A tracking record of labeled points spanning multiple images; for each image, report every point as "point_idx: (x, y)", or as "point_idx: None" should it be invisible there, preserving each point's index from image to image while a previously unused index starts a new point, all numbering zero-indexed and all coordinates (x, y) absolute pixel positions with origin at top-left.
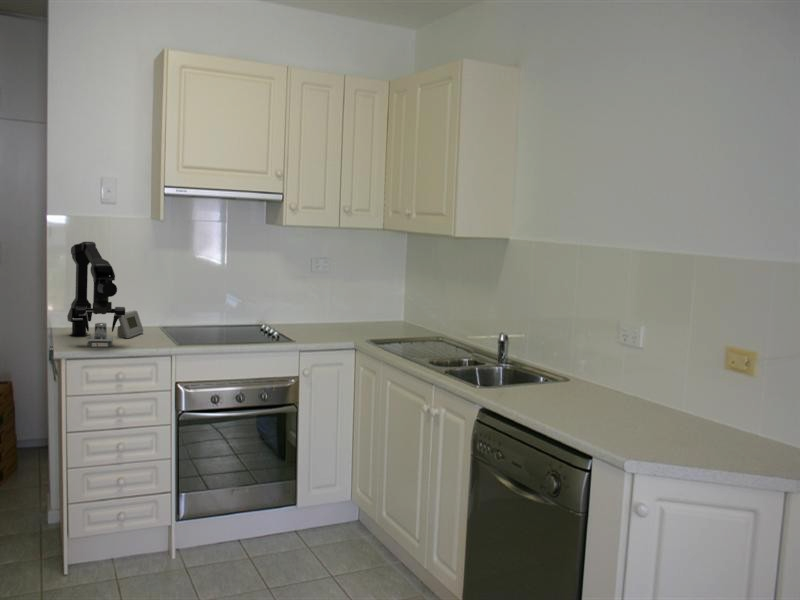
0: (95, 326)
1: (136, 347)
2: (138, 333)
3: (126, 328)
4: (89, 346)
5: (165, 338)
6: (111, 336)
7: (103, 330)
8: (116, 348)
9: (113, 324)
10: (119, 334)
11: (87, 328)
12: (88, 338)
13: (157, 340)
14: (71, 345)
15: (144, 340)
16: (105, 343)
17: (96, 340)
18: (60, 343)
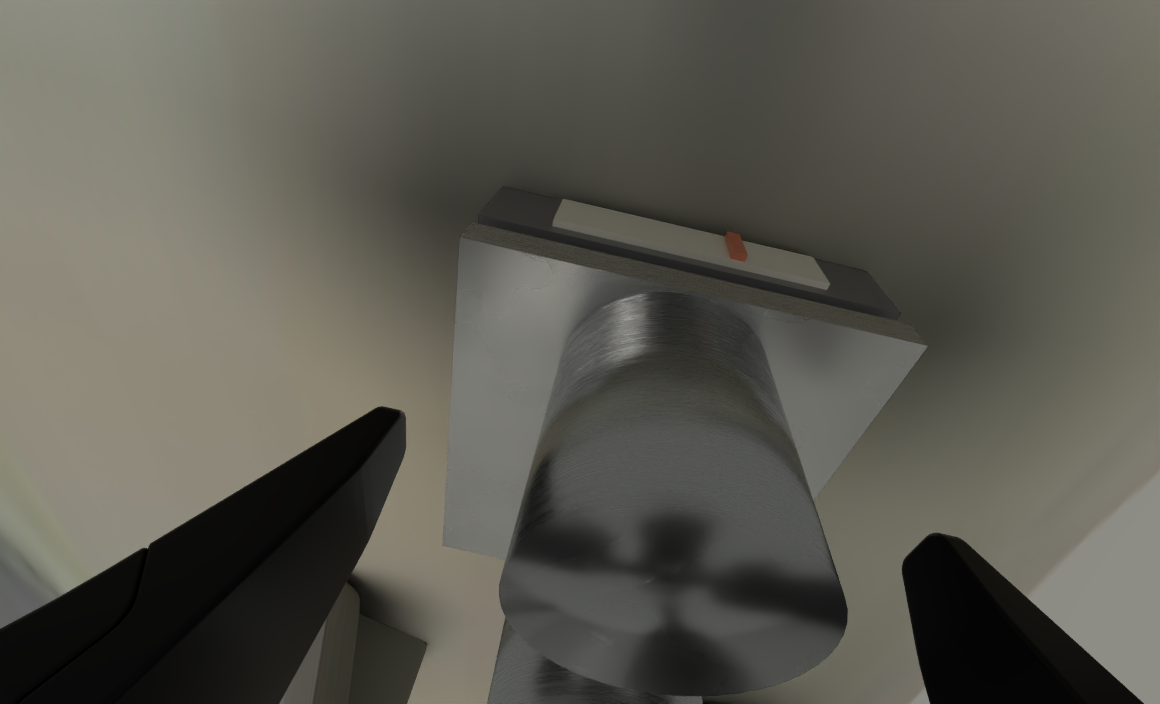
0: (840, 612)
1: (103, 76)
2: None
3: (292, 684)
4: (844, 270)
5: (14, 515)
6: (460, 472)
7: (611, 425)
8: (425, 42)
9: (221, 554)
10: (403, 657)
11: (1018, 605)
12: (878, 404)
13: (41, 460)
14: (1014, 433)
15: (166, 486)
16: (593, 226)
17: (756, 296)
18: (1053, 552)
